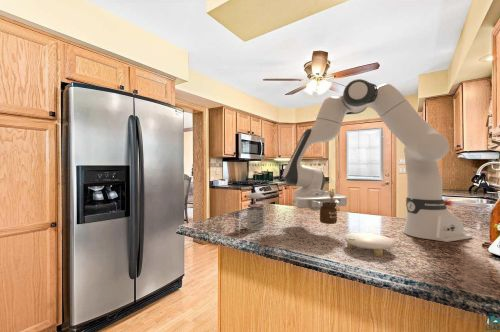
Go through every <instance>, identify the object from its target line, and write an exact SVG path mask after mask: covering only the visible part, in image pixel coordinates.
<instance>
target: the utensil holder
mask: <svg viewBox="0 0 500 332" xmlns="http://www.w3.org/2000/svg"><path fill="white" fill-rule="evenodd" d="M329 191H330V197H331V201H330V202H329V201H328V202H325V201H324V202H322V203H323V207H321V208H320V210H319V221H320V223H322V224H325V225H335V224H337V222H338V210H337V208H336V204H335V203H331V202H332V198H333V197H334V193H335V188H331V189H330V190H329ZM331 191H332V194H333V195H332V194H331ZM324 194H325V193H324ZM326 194H327V193H326ZM322 196H323V195H322ZM324 196H325V195H324ZM328 196H329V195H328ZM326 198H327V197H326ZM328 198H329V197H328ZM322 200H323V199H322Z"/></svg>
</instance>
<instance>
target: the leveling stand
mask: <svg viewBox="0 0 500 332" xmlns="http://www.w3.org/2000/svg"><path fill="white" fill-rule="evenodd" d="M344 241H345V243H347V245H346V246H347V248H348V249H350V250H354V249H356V247H357V248H362V249H368V250H373V256H375V257H378V258H380V257H383V256H384V250H388V249H391V248H393V247H394V240H393V239H392V238H389V237H387V236H384V235H381V234H374V233H369V232H352V233H351V232H350V233H347V234H345V235H344Z"/></svg>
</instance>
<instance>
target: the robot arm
mask: <svg viewBox="0 0 500 332" xmlns="http://www.w3.org/2000/svg"><path fill="white" fill-rule="evenodd" d="M367 108H371V109H372V110H373V111H375V112H376V113H377V115H378V117H379V118H380V119H381V121H382V122H383V123H384V124H385V126H386V127H387V129H388V130H389V131H390V132H391V134H392V135H394V136H395V137H396V138H397V139H398V140H399V141H400V142H401V143H402V144H403V146H404V149H403V152H404V163H405V169H406V170H405V171H406V176H407V177H406V179H407V197H405V198H406V199H405V206H406V215H405V222H404V226H403V229H402V233H403V234H405V235H408V236H411V237H415V238H419V239H424V240H425V239H426V240H434V241H440V242H446V243H447V242H448V243H449V242H455V241H461V240H469V239H473V235H472V234H470V233H468V232H465V231H464V224H463V220H461V219H460V218H459V217H458V216H457V215H455V214H454V213H452V212H451V211H450V210H448V209H447V206H449V207H452V206H453V203H454V202H453V201H452V200H448V199H445V200H444V199H443V177H442V175H441V171H440V168H439V167H440V166H439V162H438V161H440V160H441V159H442V158H444V157H445V156H446V155H447V154H448V153H449V151H450V142H449V140H448V138H447V137H446V136H445V135H442V134H441V133H439V131H437V130H436V129H435V128H434V127H433V126H432V125H431V124H430V123H429V122H427V121H426V120H425V119H424V118H423V117H422V116H421V115H420V114H419V113H418V111H416V109H415V108H414V107H413V105H412V104H411V103H410V102H409V100H408V99H407V98H406V97H405V96H404V95H403V94H402V93H401V92H400V91H399V90H398V89H397V88H396V87H394V86H393V85H392V84H390V83H383V84H380V85H377V84H375V83H372V82H369V81H367V80H365V79H361V78H358V79H357V78H356V79H353V80H351V81H350V82H349V83H348V84H346V86H345V87H344V89H343V93H342V95H341V96H328V97H327V98H325V99H324V100H323V101H322V104H321V107H319V110H318V113H317V114H316V115H317V116H316V120H315V121H314V123H313V125H312V126H311V127H310V128H307V129H306V130H304V132H303V133H302V136H301V137H300V139H299V141H298V142H297V145H296V146H295V149H294V151H293V153H292V155H291V156H290V159H289V160H288V162H287V164H286V166H285V168H284V169H283V172H282V178H283V180H284V181H285V183H286V184H287V185H291V186H296V187H297V186H298V187H297V188H296V189H295V191H294V193H293V198H294V199H291V202H292V203H293V204H294V206H295V207H296V208H297V209H308V210H310V211H320V208H321V207H323V203H322V202H324V201H325V202H328V201H329V202H330V201H331V197H330V190H324V187H325V185H326V184H325V183H326V177H325V174H324V172H323V170H321V169H320V168H315V167H312V166H307V165H304V164H301V163H302V160H303V158H304V156H305V154H306V152H307V150H308V148H309V147H310V146H312V145H314V144H317V143H325V142H326V143H327V142H331V141H333V140H334V139H336V138H337V136H338V135H339V133H340V131H341V127H342V124H343V122H344V118H345V116H346V115H357V114H360V113H363V112H364V111H365V110H366V109H367ZM324 193H325V194H324ZM326 193H327V194H326ZM331 194H332V190H331ZM322 195H323V196H322ZM324 195H325V196H324ZM328 195H329V196H328ZM332 195H333V194H332ZM326 197H327V198H326ZM328 197H329V198H328ZM322 199H323V200H322ZM331 203H335V204H336V207H346V206H347V205H348V197H347V196H346V195H342V194H339V193H335V192H334V197H333V198H332V202H331ZM336 207H335V208H336Z"/></svg>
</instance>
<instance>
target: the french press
mask: <svg viewBox="0 0 500 332" xmlns="http://www.w3.org/2000/svg"><path fill="white" fill-rule="evenodd" d="M258 173H259V171H257V170H254V171H253V174H255V180H257V174H258ZM265 197H266V196H265V195H264V194H263V193H259V192H257V191H254V192H252V193H249V194H247V195H246V198H247V199H255V200H257V199H262V203H264V202H266V204H267V205H266V206H268V207H267V209H266V210H265V208H264V204H262V203H261V204H260V203H259V204H257V203H253V204H248V205H247V207H248V208H246V224H247V225H245V226H246V228H247V229H246V230H248V229H251V230H250V231H264V230H266V229H267V228H268V227H267V226H266V225H265V224H266V223H265V222H266V220H265V219H266V218H265V217H266V216H267V215H268V214H269V212H270V210H271V204H270V202H269V200H268V199H266V198H265ZM263 229H264V230H263Z"/></svg>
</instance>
